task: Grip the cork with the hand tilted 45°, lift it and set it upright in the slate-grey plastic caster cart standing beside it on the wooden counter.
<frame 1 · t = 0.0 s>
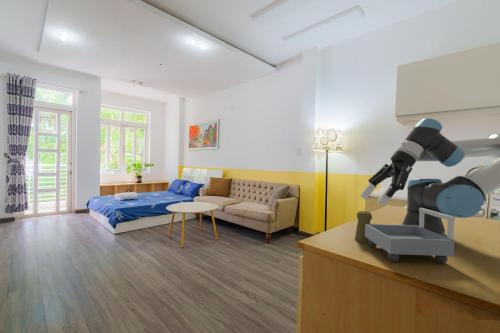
hand: (371, 200, 88), 15 cm above the countertop, tool tilted 35°, fingers open, 13 cm apart
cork: (363, 240, 88), on the countertop
cart: (406, 232, 75), point 7 cm above the countertop, slide at 0.0 cm
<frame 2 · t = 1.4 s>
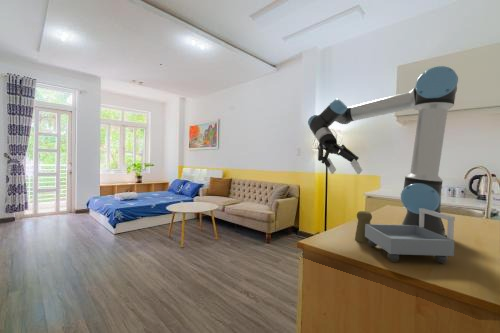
hand: (347, 172, 98), 25 cm above the countertop, tool tilted 45°, fingers open, 13 cm apart
nothing on the countertop moved.
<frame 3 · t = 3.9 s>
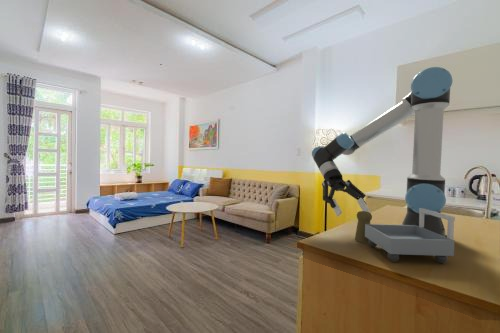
hand: (353, 213, 92), 9 cm above the countertop, tool tilted 45°, fingers open, 13 cm apart
nothing on the countertop moved.
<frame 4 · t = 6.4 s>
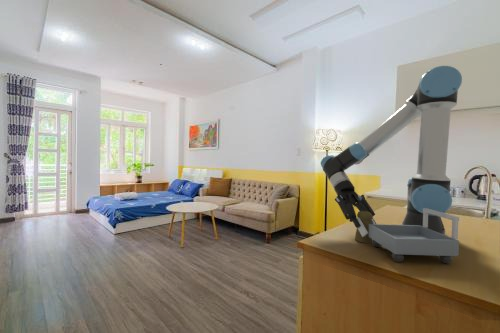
hand: (371, 234, 85), 3 cm above the countertop, tool tilted 45°, fingers closed on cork, 5 cm apart
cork: (363, 240, 88), on the countertop, touching gripper
cart: (410, 232, 75), point 7 cm above the countertop, slide at -1.3 cm
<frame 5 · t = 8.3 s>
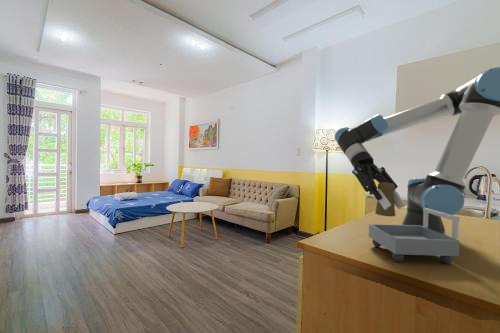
hand: (394, 206, 76), 15 cm above the countertop, tool tilted 45°, fingers closed on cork, 5 cm apart
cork: (385, 214, 80), point 12 cm above the countertop, touching gripper
everything else where it was.
when the fingers open (9 cm above the countertop, at t = 10.4 s): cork drops 1 cm, resting on cart.
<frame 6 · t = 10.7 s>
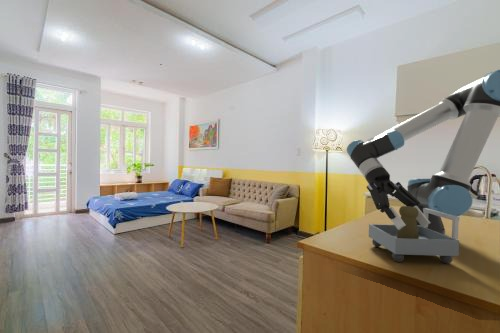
hand: (414, 226, 72), 10 cm above the countertop, tool tilted 45°, fingers open, 10 cm apart
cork: (407, 240, 75), point 4 cm above the countertop, touching cart
cart: (410, 232, 75), point 7 cm above the countertop, slide at -1.3 cm, touching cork
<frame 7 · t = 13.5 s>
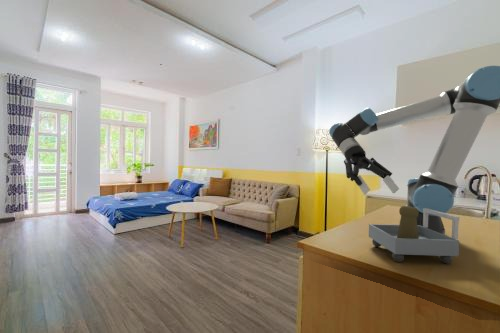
hand: (382, 191, 83), 19 cm above the countertop, tool tilted 45°, fingers open, 13 cm apart
nothing on the countertop moved.
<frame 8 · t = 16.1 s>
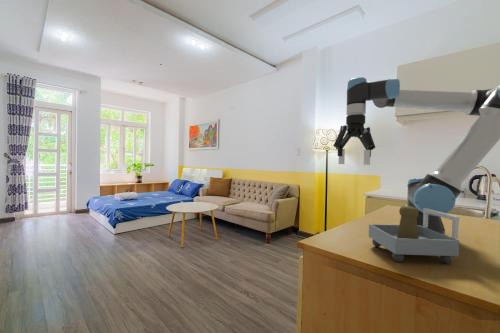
hand: (354, 164, 101), 29 cm above the countertop, tool pointing down, fingers open, 13 cm apart
nothing on the countertop moved.
at the end: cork inside the target area on the cart (0.4 cm from its centre), point 4.3 cm above the cart's base; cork tilted 0°; the gripper is holding nothing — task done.
